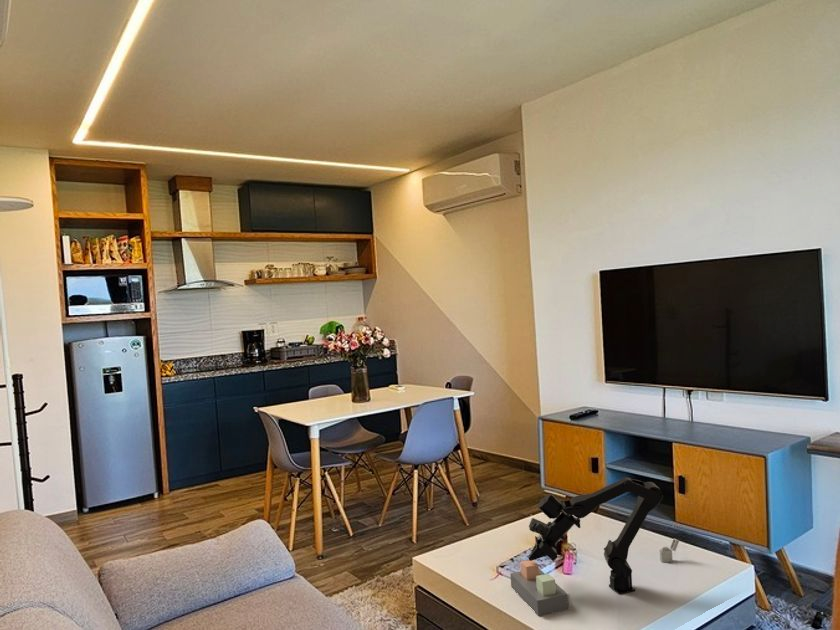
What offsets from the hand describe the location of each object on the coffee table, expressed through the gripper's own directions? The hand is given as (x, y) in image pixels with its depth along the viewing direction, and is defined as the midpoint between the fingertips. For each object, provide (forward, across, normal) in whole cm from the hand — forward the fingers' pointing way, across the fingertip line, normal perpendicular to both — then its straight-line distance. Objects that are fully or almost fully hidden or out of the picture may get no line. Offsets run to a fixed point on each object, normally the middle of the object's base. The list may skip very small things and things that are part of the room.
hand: (529, 559), depth 208 cm
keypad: (+6, +6, +9) cm, 12 cm away
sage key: (+2, +11, +8) cm, 14 cm away
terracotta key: (+5, 0, +5) cm, 7 cm away
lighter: (-30, -21, +46) cm, 59 cm away
